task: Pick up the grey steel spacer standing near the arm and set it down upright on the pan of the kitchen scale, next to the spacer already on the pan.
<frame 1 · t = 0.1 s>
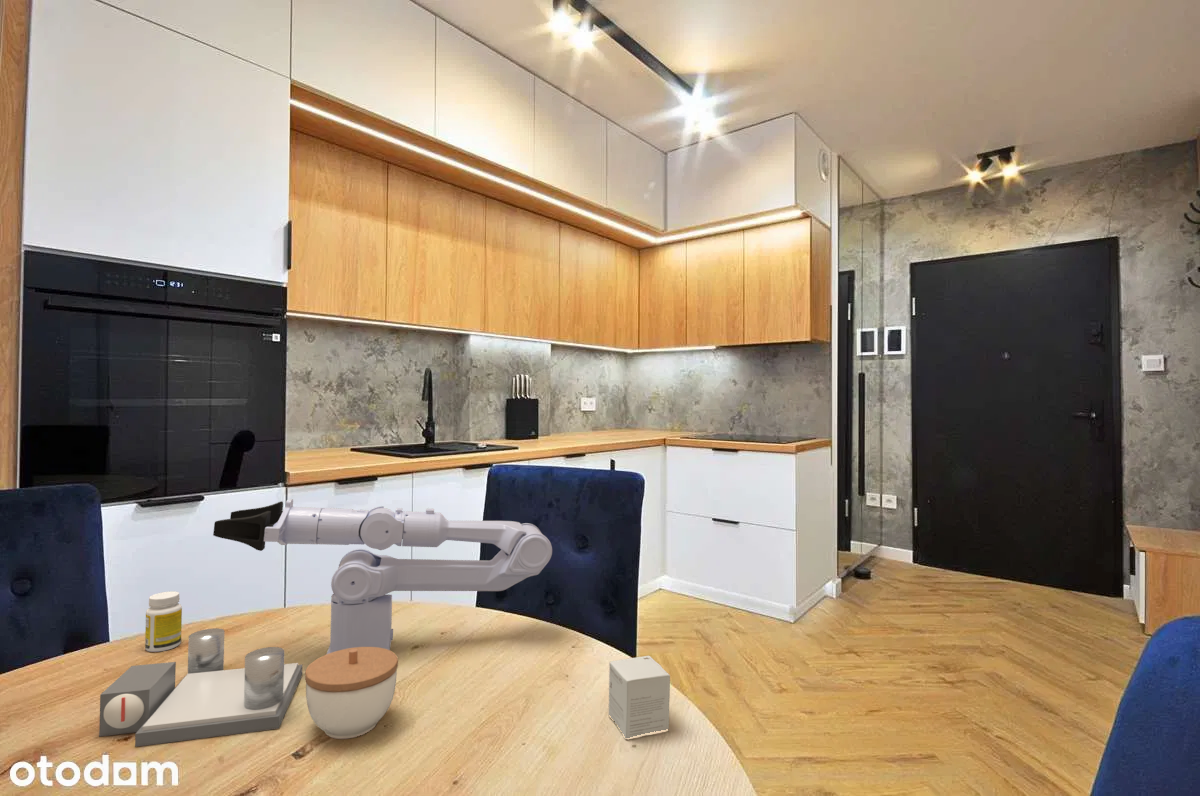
hand: (222, 523, 90), 22 cm above the table, tool horizontal, fingers open, 7 cm apart
supplement bottle: (163, 647, 96), on the table
lidded jar: (351, 727, 74), on the table
product box: (638, 726, 75), on the table
spacer: (205, 674, 87), on the table
scale: (228, 706, 78), on the table
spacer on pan: (263, 701, 75), point 2 cm above the table, touching scale
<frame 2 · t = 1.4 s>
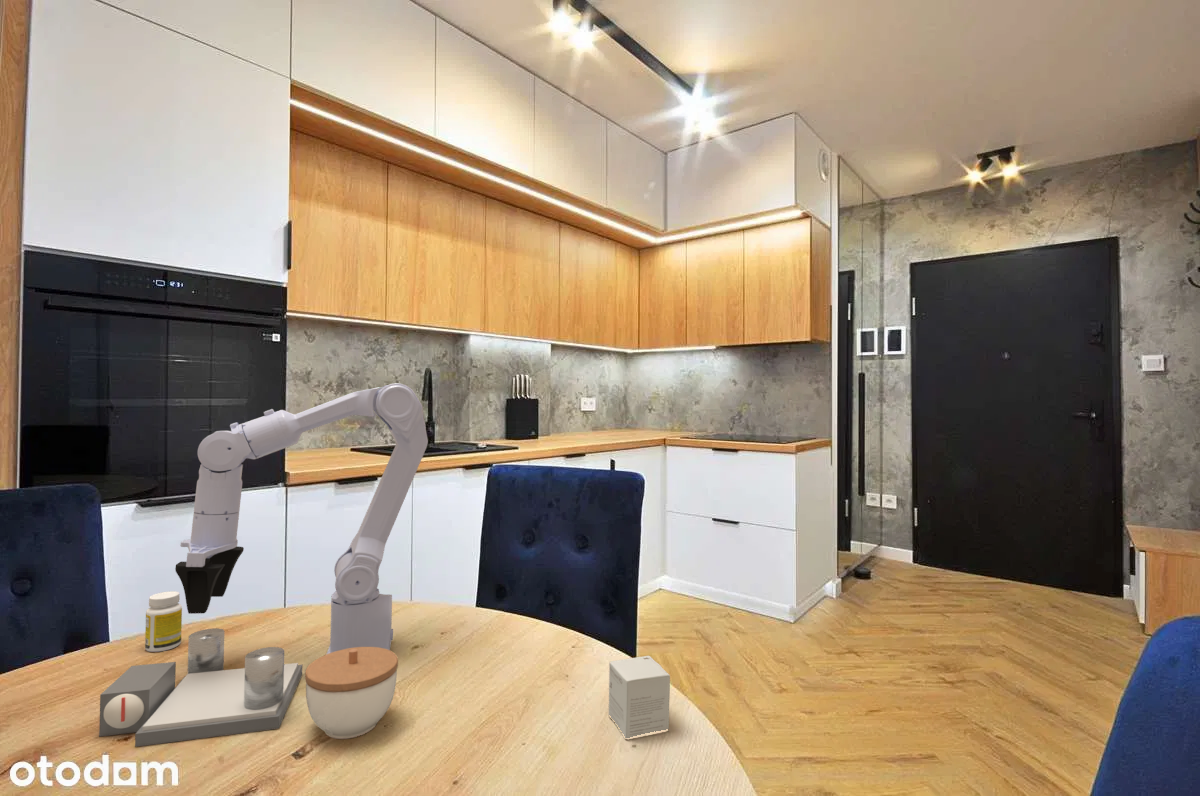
hand: (206, 604, 87), 10 cm above the table, tool pointing down, fingers open, 7 cm apart
nothing on the table moved.
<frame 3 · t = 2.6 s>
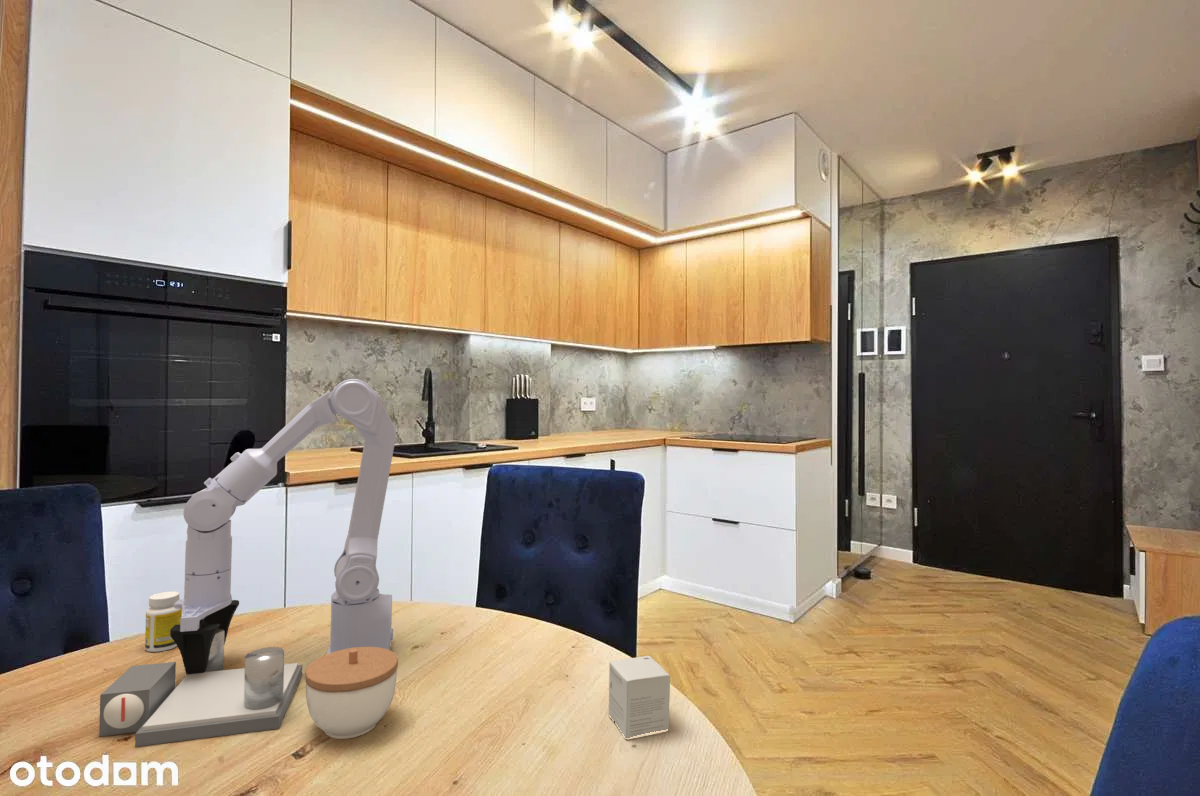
hand: (205, 662, 87), 2 cm above the table, tool pointing down, fingers open, 7 cm apart
nothing on the table moved.
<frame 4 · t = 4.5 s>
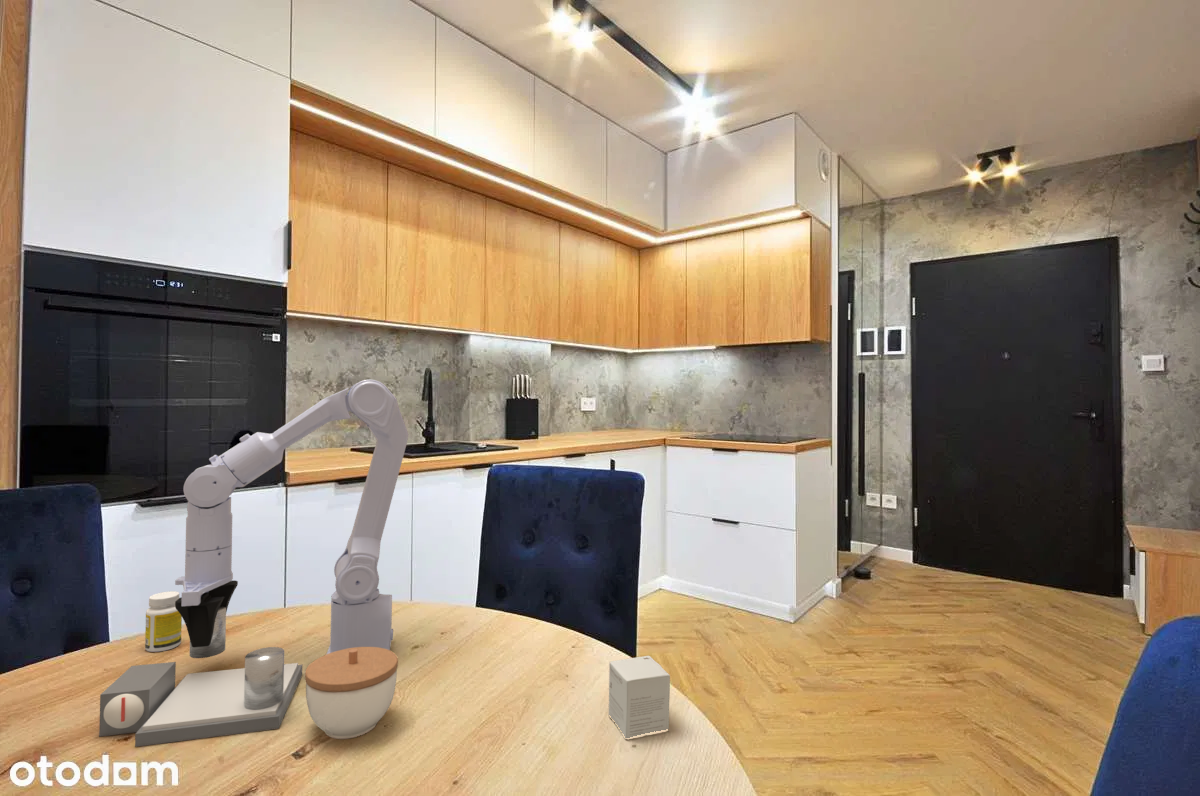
hand: (207, 639, 87), 5 cm above the table, tool pointing down, fingers closed on spacer, 4 cm apart
spacer: (207, 651, 87), point 3 cm above the table, touching gripper
everything else where it was.
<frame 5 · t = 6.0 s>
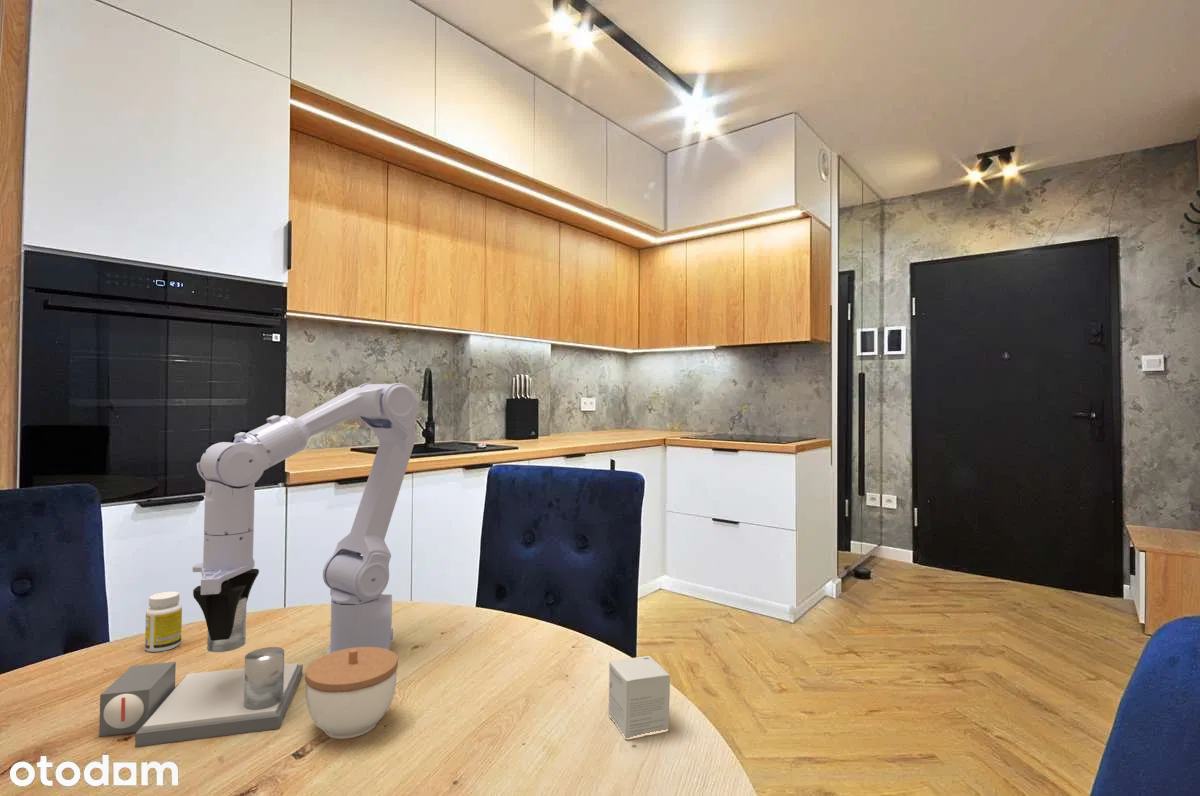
hand: (226, 631, 79), 9 cm above the table, tool pointing down, fingers closed on spacer, 4 cm apart
spacer: (226, 645, 79), point 7 cm above the table, touching gripper
everything else where it was.
when the fingers open (5 cm above the table, at t = 7.6 s): spacer stays where it is, resting on scale.
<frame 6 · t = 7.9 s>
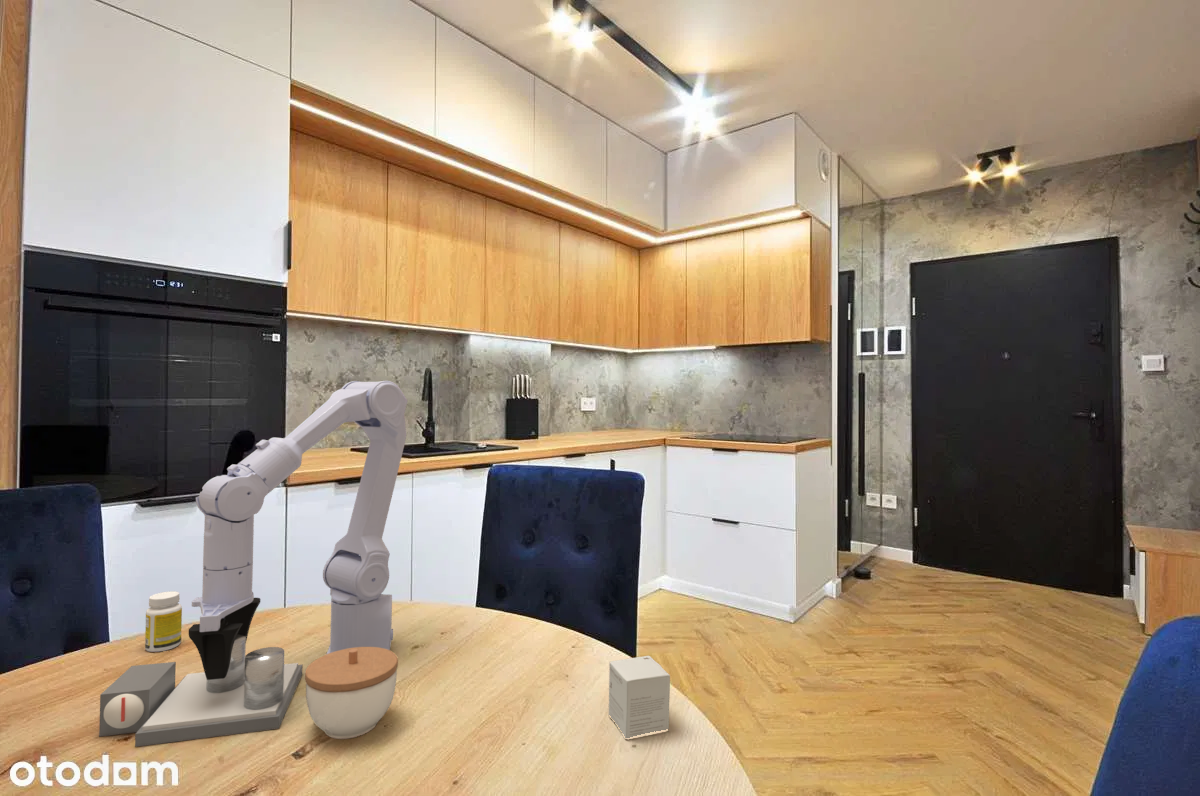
hand: (225, 665, 79), 5 cm above the table, tool pointing down, fingers open, 7 cm apart
spacer: (225, 685, 79), point 2 cm above the table, touching scale
everything else where it was.
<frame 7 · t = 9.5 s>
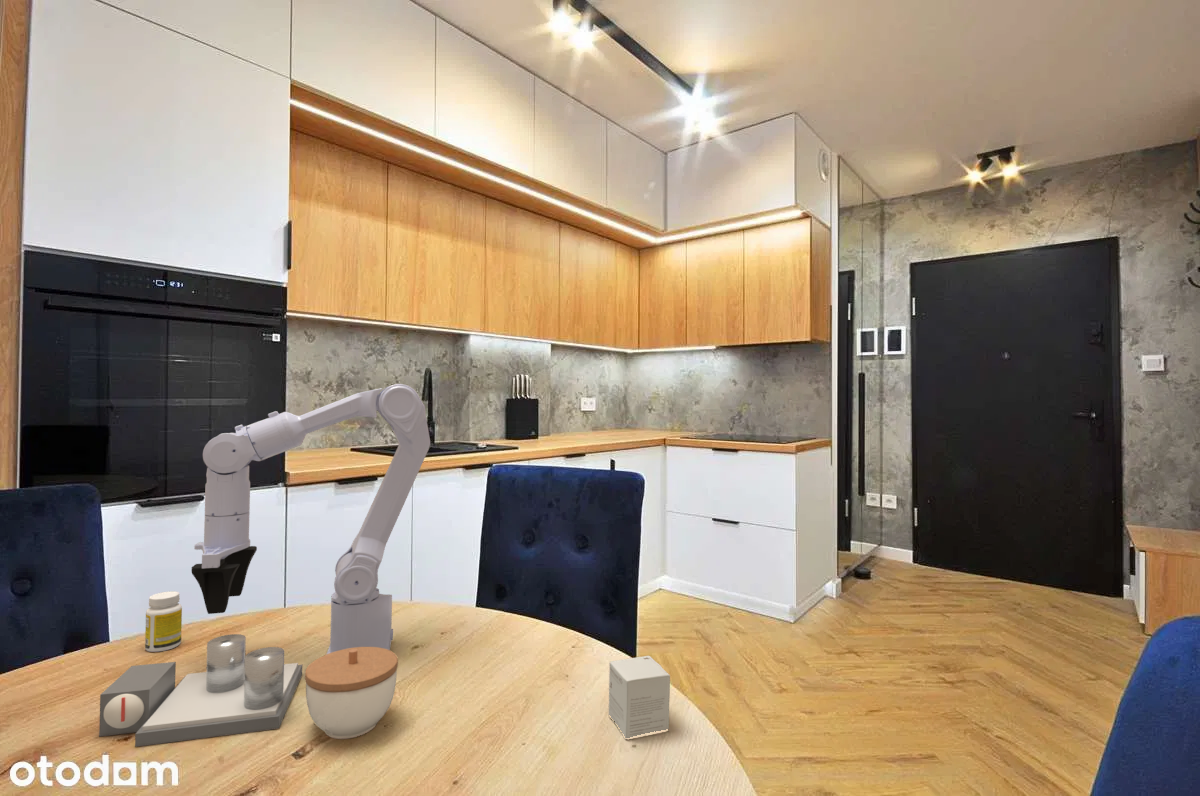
hand: (225, 603, 88), 10 cm above the table, tool pointing down, fingers open, 7 cm apart
nothing on the table moved.
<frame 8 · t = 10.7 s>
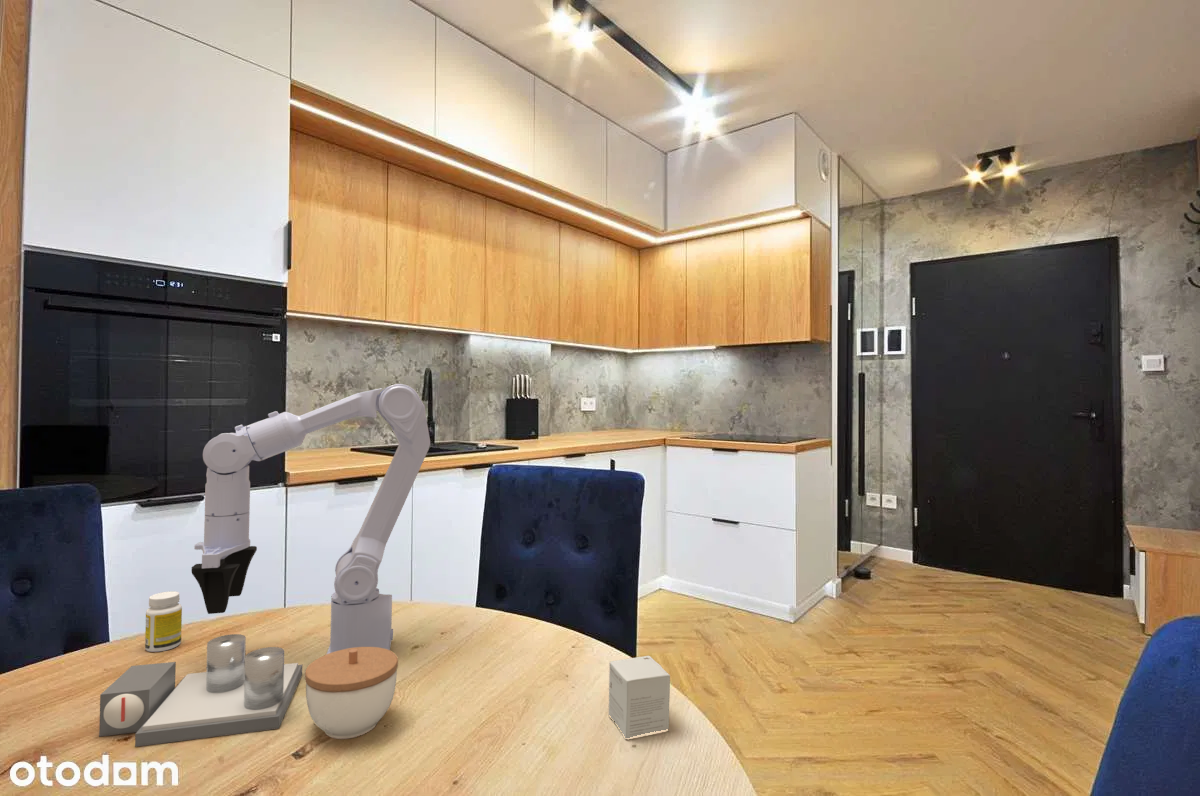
hand: (225, 603, 88), 10 cm above the table, tool pointing down, fingers open, 7 cm apart
nothing on the table moved.
at the end: spacer inside the target area on the scale (2.2 cm from its centre), point 2.0 cm above the scale's base; spacer tilted 0°; the gripper is holding nothing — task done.
